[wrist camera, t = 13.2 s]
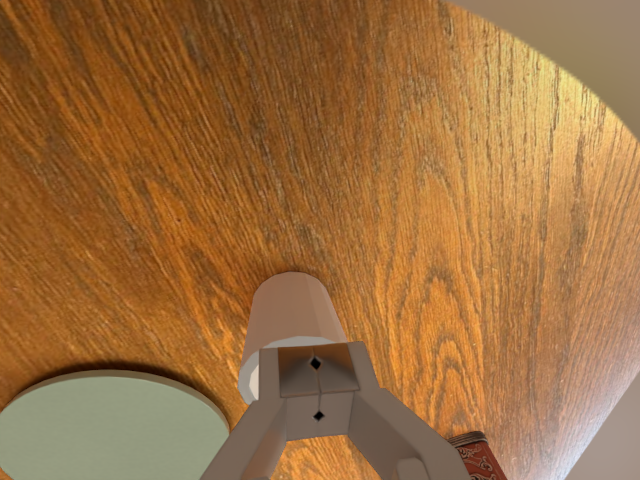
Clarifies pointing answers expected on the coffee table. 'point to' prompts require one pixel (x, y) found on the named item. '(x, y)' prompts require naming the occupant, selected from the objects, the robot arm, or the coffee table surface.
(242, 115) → the coffee table surface
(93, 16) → the coffee table surface
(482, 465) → the lighter
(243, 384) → the shot glass
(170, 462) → the plate
